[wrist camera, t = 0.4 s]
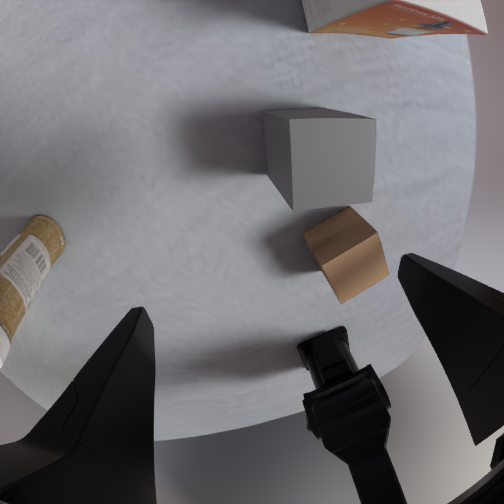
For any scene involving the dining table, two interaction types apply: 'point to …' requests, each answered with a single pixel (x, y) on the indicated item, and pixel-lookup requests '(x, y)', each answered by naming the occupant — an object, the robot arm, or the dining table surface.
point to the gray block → (320, 156)
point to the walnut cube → (347, 253)
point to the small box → (395, 17)
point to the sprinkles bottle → (25, 273)
